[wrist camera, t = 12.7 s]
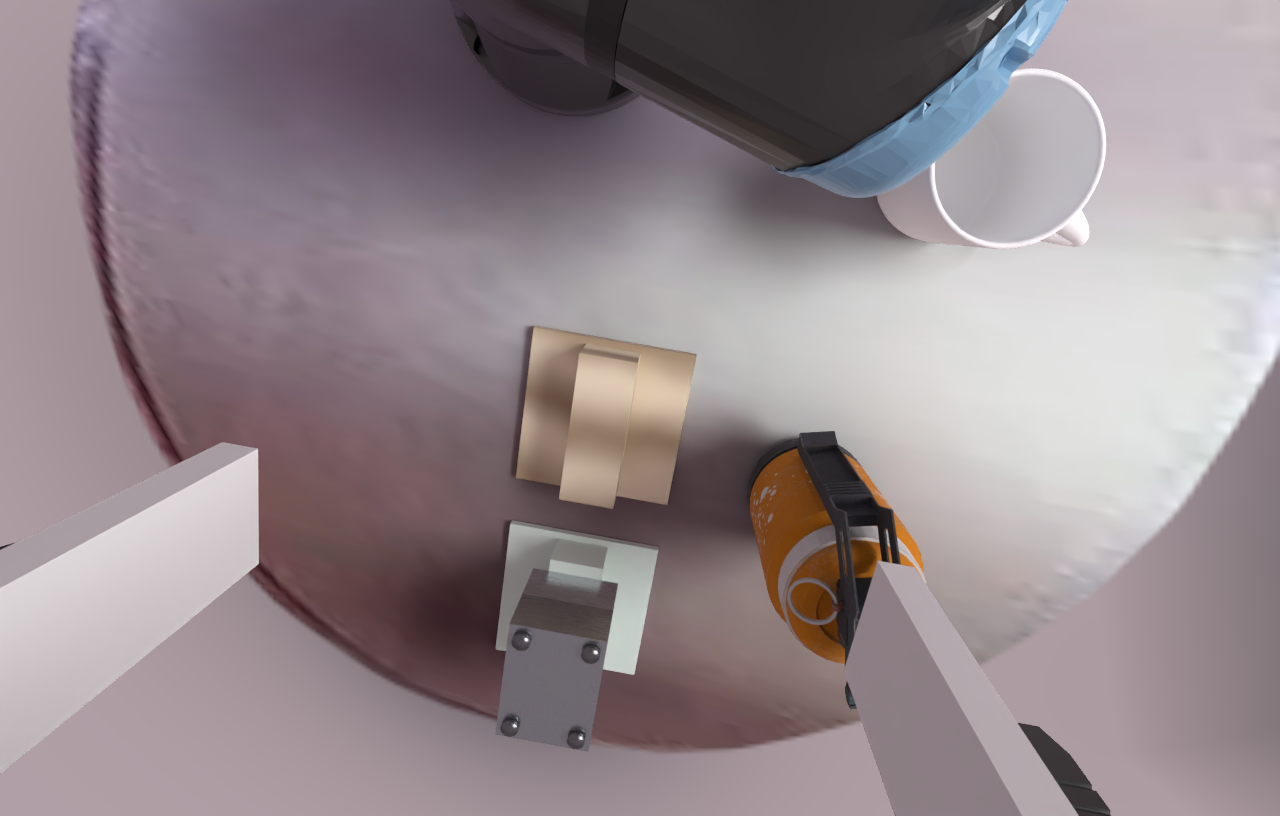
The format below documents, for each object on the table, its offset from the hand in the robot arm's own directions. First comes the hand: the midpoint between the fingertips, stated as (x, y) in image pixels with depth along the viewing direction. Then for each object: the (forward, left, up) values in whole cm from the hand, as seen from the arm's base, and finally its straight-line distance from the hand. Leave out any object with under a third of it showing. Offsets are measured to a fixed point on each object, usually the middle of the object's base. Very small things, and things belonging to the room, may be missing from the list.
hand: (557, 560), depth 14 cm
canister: (+10, +14, -35) cm, 39 cm away
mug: (-12, +19, -35) cm, 42 cm away
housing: (+24, -2, -31) cm, 39 cm away
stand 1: (+8, -2, -35) cm, 36 cm away
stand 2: (+24, -2, -35) cm, 42 cm away
